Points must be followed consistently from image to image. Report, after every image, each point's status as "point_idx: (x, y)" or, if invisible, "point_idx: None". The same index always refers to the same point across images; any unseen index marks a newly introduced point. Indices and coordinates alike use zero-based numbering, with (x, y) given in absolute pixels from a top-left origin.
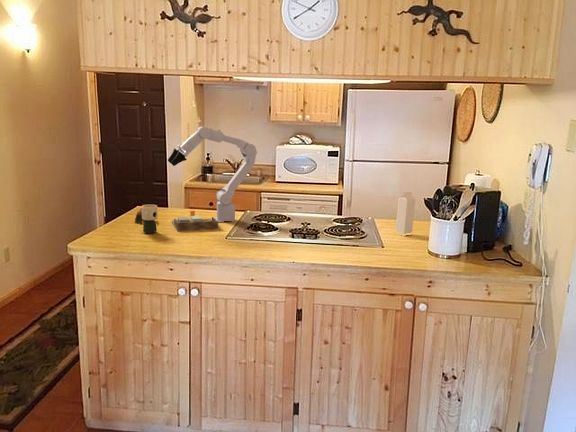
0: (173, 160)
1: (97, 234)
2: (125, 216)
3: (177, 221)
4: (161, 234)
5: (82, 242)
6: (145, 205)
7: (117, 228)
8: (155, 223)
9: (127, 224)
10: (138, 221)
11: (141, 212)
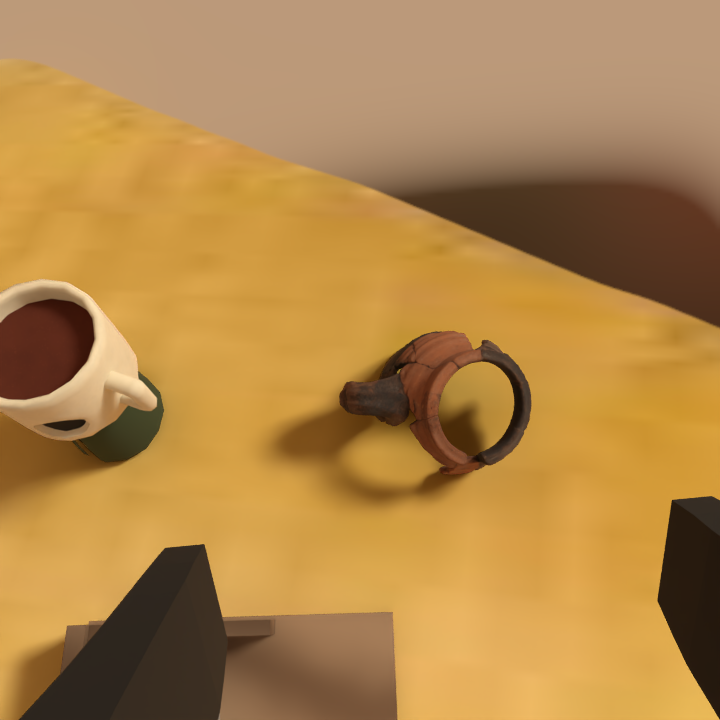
0: (94, 640)
1: (174, 148)
2: (611, 296)
3: (347, 661)
4: (45, 490)
5: (39, 92)
6: (90, 314)
7: (284, 241)
8: (97, 440)
9: (377, 298)
10: (391, 358)
11: (411, 355)
